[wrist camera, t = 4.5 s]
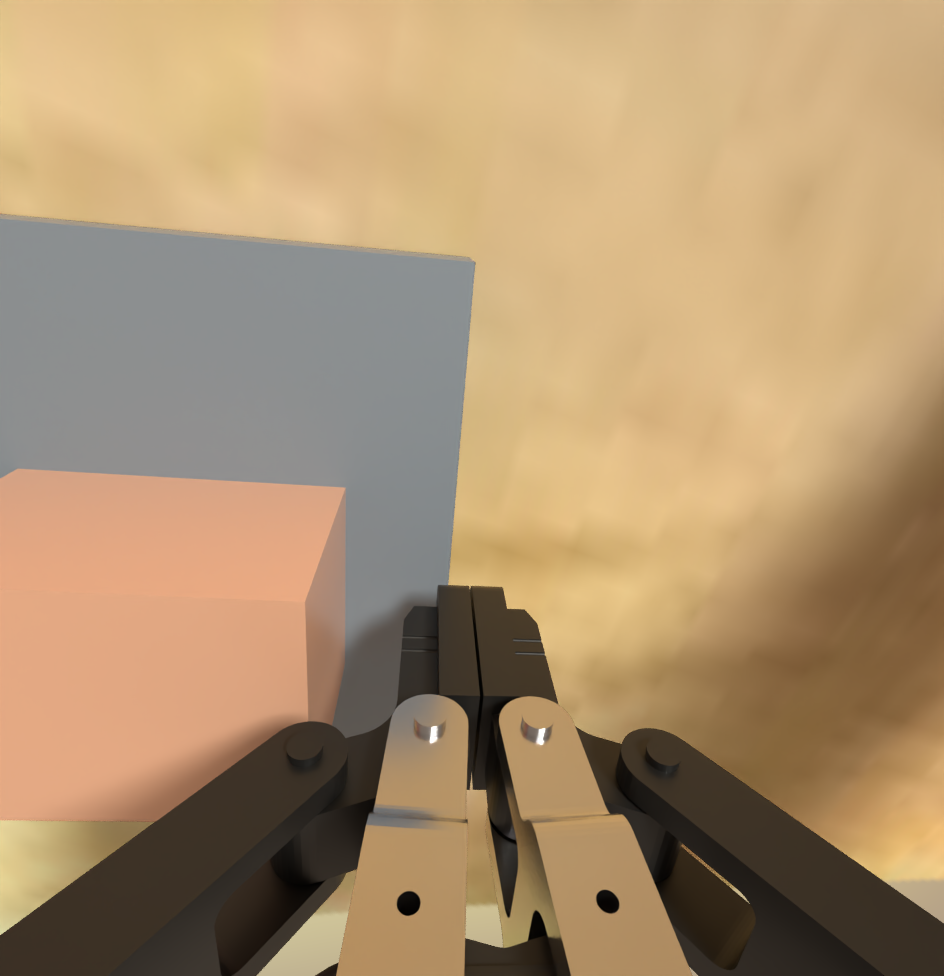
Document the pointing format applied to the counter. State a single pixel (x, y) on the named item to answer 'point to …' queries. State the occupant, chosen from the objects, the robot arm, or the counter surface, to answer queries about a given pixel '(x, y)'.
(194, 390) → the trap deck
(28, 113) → the counter surface
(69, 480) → the terracotta block
